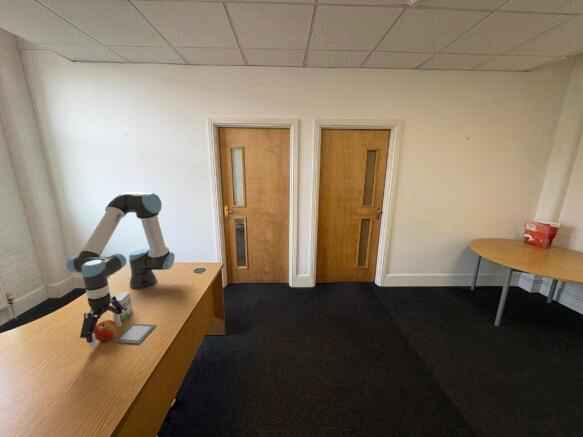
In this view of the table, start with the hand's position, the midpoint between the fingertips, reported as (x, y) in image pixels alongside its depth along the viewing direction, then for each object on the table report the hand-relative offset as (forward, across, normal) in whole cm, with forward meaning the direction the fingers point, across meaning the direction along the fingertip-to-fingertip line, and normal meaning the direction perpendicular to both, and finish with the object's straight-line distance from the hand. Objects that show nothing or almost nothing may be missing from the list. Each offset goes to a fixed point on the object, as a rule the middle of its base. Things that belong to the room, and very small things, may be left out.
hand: (106, 335), depth 103 cm
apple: (+2, 0, 0) cm, 2 cm away
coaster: (+2, -4, +11) cm, 12 cm away
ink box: (+2, -16, -5) cm, 17 cm away
